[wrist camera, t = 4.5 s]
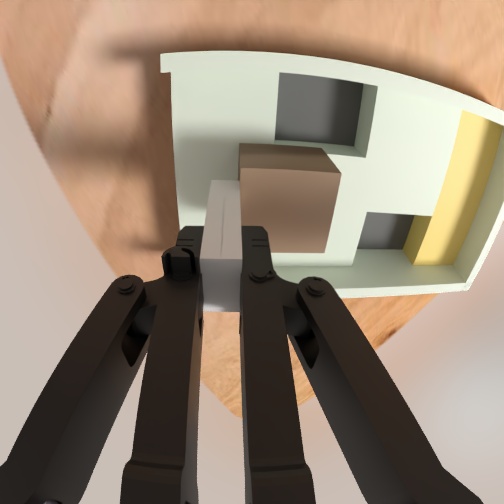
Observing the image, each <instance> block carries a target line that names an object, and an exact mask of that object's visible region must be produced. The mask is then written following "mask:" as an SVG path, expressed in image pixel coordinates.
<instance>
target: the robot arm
mask: <svg viewBox="0 0 504 504" xmlns="http://www.w3.org/2000/svg"><path fill="white" fill-rule="evenodd" d="M161 257H162V264H163V270H164V276H163V277H161V278H159V279H157V280H153V281H149V282H144V283H143V280H142V279H141V278H140V277H138V276H135V275H125V276H121V277H119V278H117V279H116V280H115V281H114V282H113V283H112V284H111V285H110V287H109V288H108V289H107V291H106V292H105V293H104V295H103V296H102V298H101V299H100V301H99V302H98V303H97V305H96V306H95V308H94V309H93V311H92V312H91V314H90V315H89V317H88V318H87V320H86V321H85V323H84V324H83V326H82V327H81V329H80V331H79V332H78V333H77V335H76V336H75V338H74V339H73V341H72V342H71V344H70V346H69V347H68V349H67V350H66V352H65V354H64V355H63V357H62V359H61V360H60V362H59V363H58V365H57V367H56V368H55V370H54V372H53V373H52V375H51V377H50V378H49V380H48V382H47V384H46V385H45V387H44V389H43V391H42V392H41V394H40V396H39V398H38V400H37V401H36V403H35V405H34V407H33V409H32V411H31V412H30V414H29V416H28V418H27V420H26V422H25V424H24V426H23V428H22V430H21V432H20V434H19V436H18V438H17V440H16V442H15V444H14V446H13V448H12V450H11V452H10V454H9V456H8V459H7V461H6V462H5V463H4V464H3V465H1V466H0V504H78V503H79V502H80V500H81V498H82V496H83V494H84V492H85V490H86V488H87V485H88V483H89V480H90V478H91V475H92V473H93V470H94V468H95V465H96V463H97V461H98V458H99V456H100V454H101V451H102V449H103V447H104V444H105V442H106V440H107V437H108V435H109V433H110V430H111V428H112V426H113V424H114V421H115V419H116V417H117V415H118V413H119V410H120V408H121V406H122V404H123V402H124V399H125V397H126V395H127V393H128V391H129V388H130V386H131V384H132V382H133V380H134V378H135V376H136V374H137V372H138V369H139V367H140V365H141V363H142V361H143V359H144V357H145V355H146V353H147V358H146V363H145V369H144V374H143V380H142V386H141V393H140V398H139V405H138V412H137V419H136V426H135V433H134V441H133V450H132V456H131V459H130V460H129V461H128V462H127V463H126V465H125V467H124V470H123V475H122V484H121V496H120V504H198V487H197V440H198V439H197V438H198V410H199V387H200V369H201V352H202V337H203V322H204V321H203V309H204V311H217V312H240V324H239V334H240V356H241V388H242V417H243V443H244V467H245V504H316V501H315V493H314V485H313V479H312V474H311V471H310V468H309V467H308V465H307V464H306V462H305V459H304V452H303V444H302V437H301V429H300V422H299V415H298V407H297V400H296V393H295V386H294V379H293V372H292V365H291V358H290V352H289V345H288V338H287V334H288V336H289V339H290V341H291V343H292V345H293V347H294V350H295V352H296V354H297V356H298V358H299V360H300V362H301V365H302V367H303V369H304V371H305V373H306V375H307V377H308V380H309V382H310V384H311V386H312V388H313V390H314V392H315V395H316V397H317V399H318V401H319V403H320V405H321V407H322V409H323V411H324V414H325V416H326V418H327V420H328V422H329V424H330V427H331V429H332V431H333V433H334V435H335V437H336V439H337V441H338V443H339V446H340V448H341V450H342V452H343V454H344V456H345V458H346V461H347V463H348V465H349V467H350V469H351V471H352V473H353V475H354V478H355V479H356V482H357V484H358V486H359V488H360V490H361V492H362V494H363V496H364V498H365V500H366V501H367V503H368V504H483V502H482V501H481V499H480V498H479V497H477V496H476V495H475V494H474V493H473V492H471V491H470V490H469V489H468V488H467V487H465V486H464V485H463V484H462V483H461V482H459V481H458V480H457V479H456V478H455V477H454V476H452V475H451V474H450V473H449V472H448V471H446V470H445V469H444V468H443V467H442V465H441V463H440V461H439V460H438V458H437V456H436V454H435V452H434V451H433V449H432V447H431V445H430V443H429V441H428V440H427V438H426V436H425V434H424V433H423V431H422V429H421V427H420V426H419V424H418V422H417V420H416V419H415V417H414V415H413V414H412V412H411V410H410V408H409V407H408V405H407V403H406V402H405V400H404V398H403V397H402V395H401V393H400V392H399V390H398V388H397V387H396V385H395V383H394V382H393V380H392V379H391V377H390V375H389V373H388V372H387V370H386V369H385V367H384V366H383V364H382V362H381V360H380V359H379V357H378V356H377V354H376V352H375V351H374V349H373V348H372V346H371V345H370V343H369V341H368V340H367V338H366V337H365V335H364V334H363V332H362V330H361V329H360V327H359V326H358V324H357V323H356V321H355V320H354V318H353V317H352V315H351V313H350V312H349V310H348V309H347V307H346V306H345V304H344V303H343V301H342V300H341V298H340V297H339V295H338V294H337V292H336V291H335V289H334V288H333V286H332V285H331V284H330V283H329V282H328V281H327V280H325V279H323V278H320V277H315V276H313V277H306V278H303V279H302V280H301V281H300V282H299V284H298V283H294V282H290V281H287V280H284V279H282V278H280V277H279V276H278V275H277V273H276V271H275V270H274V269H273V263H272V257H271V250H270V244H269V238H268V232H267V231H266V230H265V229H264V228H263V226H241V208H240V182H239V181H233V180H211V186H210V192H209V198H208V204H207V211H206V218H205V224H204V226H184V227H183V228H182V229H181V230H180V231H179V234H178V238H177V242H176V246H175V247H172V248H169V249H168V250H166V251H165V252H164V253H163V255H162V256H161ZM147 351H148V352H147Z"/></svg>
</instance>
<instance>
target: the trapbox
mask: <svg viewBox="0 0 504 504" xmlns="http://www.w3.org/2000/svg"><path fill="white" fill-rule="evenodd" d="M160 60H161V73H165V72H171V102H172V129H173V148H174V165H175V179H176V192H177V204H178V215H179V225H180V230H181V229H182V228H183V227H184V226H204V224H205V218H206V211H207V204H208V198H209V192H210V186H211V180H233V181H238V161H239V143H253V144H275V145H292V146H306V147H317V148H322V149H323V150H324V151H325V153H326V154H327V155H328V156H329V158H330V159H331V160H332V161H333V163H334V164H335V165H336V167H337V168H338V169H339V171H340V172H341V173H342V175H341V180H340V185H339V190H338V195H337V200H336V204H335V209H334V214H333V218H332V223H331V227H330V232H329V236H328V240H327V245H326V249H325V253H271V257H272V263H273V269H274V270H275V271H276V273H277V275H278V276H279V277H280V278H282V279H284V280H287V281H290V282H294V283H298V284H299V282H300V281H301V280H302V279H303V278H306V277H313V276H315V277H320V278H323V279H325V280H327V281H328V282H329V283H330V284H331V285H332V286H333V288H334V289H335V291H336V292H337V294H338V295H339V297H340V298H360V297H381V296H399V295H415V294H429V293H442V292H454V291H466V290H468V289H469V288H470V286H471V284H472V282H473V280H474V279H475V277H476V275H477V273H478V272H479V270H480V268H481V266H482V264H483V262H484V260H485V258H486V256H487V254H488V252H489V250H490V248H491V246H492V244H493V241H494V240H495V237H496V235H497V233H498V231H499V229H500V226H501V224H502V222H503V219H504V111H502V110H500V109H498V108H496V107H493V106H491V105H489V104H487V103H484V102H482V101H480V100H477V99H475V98H472V97H470V96H467V95H465V94H462V93H460V92H457V91H454V90H451V89H449V88H446V87H443V86H440V85H437V84H434V83H431V82H428V81H424V80H421V79H418V78H414V77H411V76H407V75H404V74H400V73H396V72H392V71H388V70H384V69H380V68H376V67H371V66H366V65H362V64H357V63H351V62H346V61H340V60H334V59H328V58H321V57H313V56H305V55H296V54H286V53H273V52H255V51H194V52H176V53H164V54H160Z"/></svg>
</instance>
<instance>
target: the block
mask: <svg viewBox="0 0 504 504" xmlns="http://www.w3.org/2000/svg"><path fill="white" fill-rule="evenodd" d="M341 175H342V173H341V172H340V171H339V169H338V168H337V167H336V165H335V164H334V163H333V161H332V160H331V159H330V158H329V156H328V155H327V154H326V153H325V151H324V150H323V149H322V148H317V147H306V146H292V145H275V144H253V143H239V161H238V181H239V182H240V208H241V226H263V228H264V229H265V230H266V231H267V232H268V238H269V244H270V250H271V253H325V249H326V245H327V240H328V236H329V232H330V227H331V223H332V218H333V214H334V209H335V204H336V200H337V195H338V190H339V185H340V180H341Z"/></svg>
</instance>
